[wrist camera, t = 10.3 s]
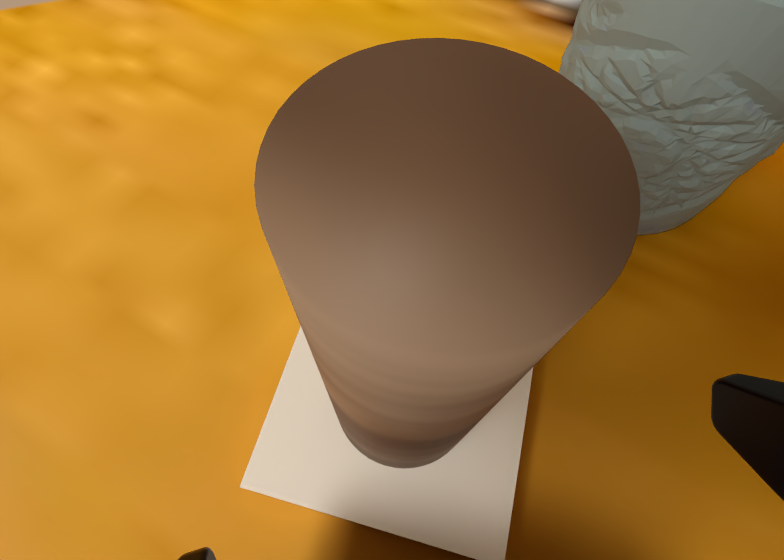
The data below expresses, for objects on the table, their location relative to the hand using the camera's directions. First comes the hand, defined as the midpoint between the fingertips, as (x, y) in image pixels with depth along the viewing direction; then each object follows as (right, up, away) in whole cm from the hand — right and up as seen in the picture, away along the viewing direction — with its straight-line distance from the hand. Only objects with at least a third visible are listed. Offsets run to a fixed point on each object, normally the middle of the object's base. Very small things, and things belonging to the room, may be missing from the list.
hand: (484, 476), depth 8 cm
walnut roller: (-1, -1, +10) cm, 10 cm away
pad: (-1, -1, +11) cm, 11 cm away
